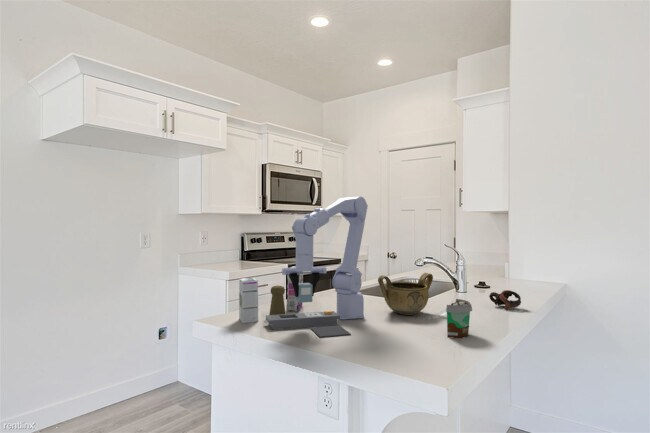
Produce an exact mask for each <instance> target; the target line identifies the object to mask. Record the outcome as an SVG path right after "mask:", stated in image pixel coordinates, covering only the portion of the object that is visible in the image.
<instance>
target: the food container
mask: <svg viewBox="0 0 650 433" xmlns="http://www.w3.org/2000/svg"><path fill="white" fill-rule="evenodd" d="M445 312H446V328H447V329H446V330H447V332H446V333H447V338H449V337H454V338H453V339H464V338H463V337H465V338H468V337H469V331H470V330H469V329H470V317H471V316H470V315H471V312H473V306H472V304H471V302H470V301H469V300H465V299H462V298H461V299H460V298H456V299H455V302H452V303H450V304H446V310H445Z"/></svg>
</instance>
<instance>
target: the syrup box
mask: <svg viewBox="0 0 650 433" xmlns="http://www.w3.org/2000/svg"><path fill="white" fill-rule="evenodd" d="M238 280H239V282H238V283H239V287H238V289H239V293H238V295H239V298H238V300H239V301H238V303H239V305H238V309H239V311H238V312H239V313H238V314H239V318H238V320H239V321H240V322H241V323H242V324H248V323H249V324H250V323H258V322H259V280H257V278H256V277H255V278H254V277H246V278H245V277H244V278H239V279H238Z"/></svg>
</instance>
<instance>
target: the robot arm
mask: <svg viewBox="0 0 650 433" xmlns="http://www.w3.org/2000/svg"><path fill="white" fill-rule="evenodd" d="M368 206H369V205H368V204H367V201H366V199H365V197H364V196H361V195H360V196H351V197H344V196H342V197H340V198H338V199H336V201H334V202H333V203H331V204H330V205H329V206H327V207H326V208H323V207H322V208H320V207H316V208H314V211H313V212H310V213H306V214H305V216H304V217H298V218H296V219H295V220H294V222H293V224H292V225H291V230H292V233H293V234H294V239H295V266H296V267H293V268H291V267H283V268H281V275H283V276H287V274H289V278H290V280H291V282H292V285H293V288H294V292H295V296H296V297H298V294H299V292H298V284H299V277H298V275H297V274H303V275H306V274H308V276H309V283H310V284H312V285H313V287H312V297H314V295H315V292H316V291H315V290H316V287H317V284H318V282H319V280H320V278H321V274H327V267H326V266H314V235H316V234H317V232H318V230H319V229H320V228H321V227H323V226H325V225H326V224H328V223H329V221H330V218H332V217H334V216H336V215H338V214H340V215H341V216H342V217H343V218H344V219H345V220H346V221H348V223H349V226H348V227H349V228H348V232H347V236H346V237H347V238H346V243H345V248H344V254H343V258H342V263H341V264H340V266H338V267H337V268H336V270H335V273H334V276H332V277H333V278H332V281H331V284H332V287H333V289H335V290H334V291H335V292H336V313H337V314H338V315H340V319H339V320H352V319H353V320H355V319H365V316H364V310H365V308H364V304H365V303H364V300H365V299H364V295H363V294H362V292H360V290H361V287H362V272H361V270H359V268H358V260H359V256H360V250H361V246H362V245H361V244H362V239H363V234H364V229H365V224H366V223H365V222H366V218H367V213H368V212H367V211H368ZM299 271H302V272H299Z"/></svg>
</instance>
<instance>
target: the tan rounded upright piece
mask: <svg viewBox="0 0 650 433" xmlns="http://www.w3.org/2000/svg"><path fill="white" fill-rule="evenodd" d="M285 292H286V289H285V286H282V285H274V286H271V288H270V294H271V301H270V308H269V314H268V315H280V314H286V308H285V307H286V306H285V300H284V299H285V298H284V295H285Z"/></svg>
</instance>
